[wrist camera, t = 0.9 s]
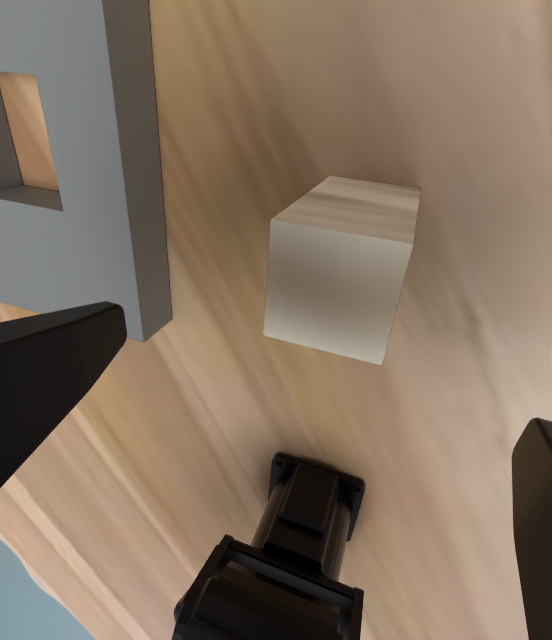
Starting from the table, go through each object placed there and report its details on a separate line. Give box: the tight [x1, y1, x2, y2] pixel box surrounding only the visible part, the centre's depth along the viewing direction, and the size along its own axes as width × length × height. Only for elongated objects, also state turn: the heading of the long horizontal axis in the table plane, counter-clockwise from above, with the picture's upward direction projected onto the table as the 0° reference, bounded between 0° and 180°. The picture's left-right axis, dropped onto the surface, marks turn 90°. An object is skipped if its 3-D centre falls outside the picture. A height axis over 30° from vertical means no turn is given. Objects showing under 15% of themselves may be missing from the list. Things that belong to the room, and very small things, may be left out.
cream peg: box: [263, 176, 421, 365], centre depth 15 cm, size 4×4×8 cm
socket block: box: [0, 0, 172, 343], centre depth 21 cm, size 20×14×3 cm
